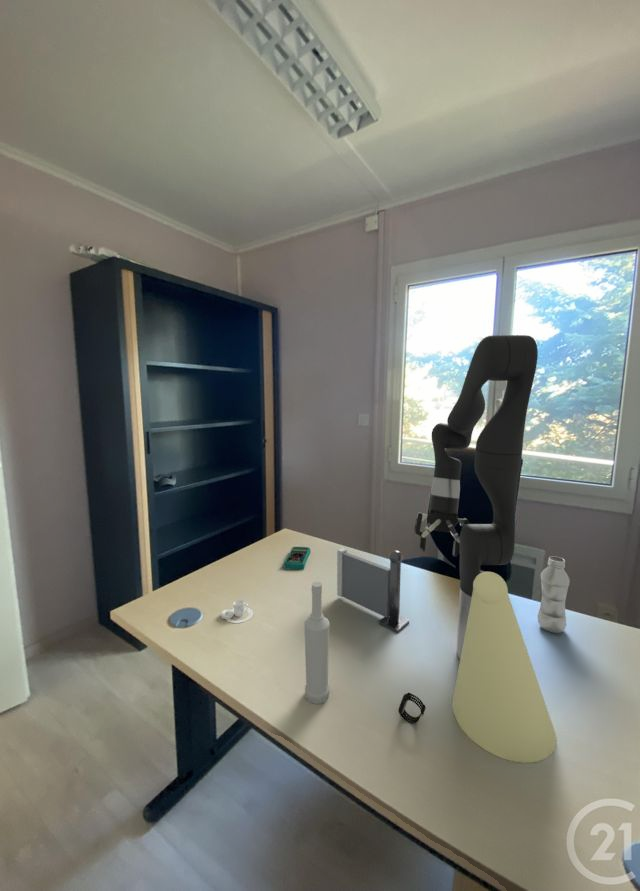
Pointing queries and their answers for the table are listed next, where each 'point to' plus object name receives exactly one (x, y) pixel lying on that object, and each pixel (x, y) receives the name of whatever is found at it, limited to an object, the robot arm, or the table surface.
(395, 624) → the gate post
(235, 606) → the teacup and saucer
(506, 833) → the table surface
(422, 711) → the smartwatch
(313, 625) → the bottle
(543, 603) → the plastic bottle
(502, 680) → the cone light
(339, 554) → the gate
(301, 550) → the digital multimeter
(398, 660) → the table surface
